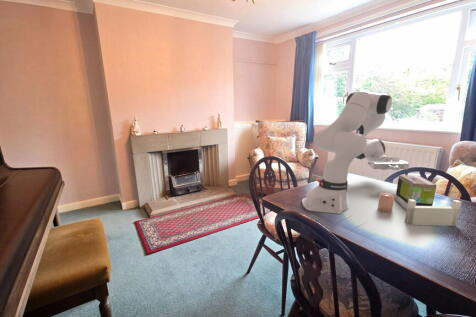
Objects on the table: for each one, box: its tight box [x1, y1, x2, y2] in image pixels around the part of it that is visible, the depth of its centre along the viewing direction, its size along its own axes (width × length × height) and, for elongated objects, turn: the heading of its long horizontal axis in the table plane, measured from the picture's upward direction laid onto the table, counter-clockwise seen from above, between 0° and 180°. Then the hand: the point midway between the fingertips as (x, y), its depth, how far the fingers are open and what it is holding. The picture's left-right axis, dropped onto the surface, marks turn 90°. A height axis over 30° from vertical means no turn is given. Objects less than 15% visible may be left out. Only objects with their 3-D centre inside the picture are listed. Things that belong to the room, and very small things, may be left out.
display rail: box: [404, 199, 462, 227], centre depth 98 cm, size 20×2×11 cm, turn 86°
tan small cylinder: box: [377, 192, 395, 214], centre depth 112 cm, size 6×6×8 cm
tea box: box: [394, 174, 437, 210], centre depth 115 cm, size 15×10×15 cm
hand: (396, 168), depth 129 cm, fingers closed
